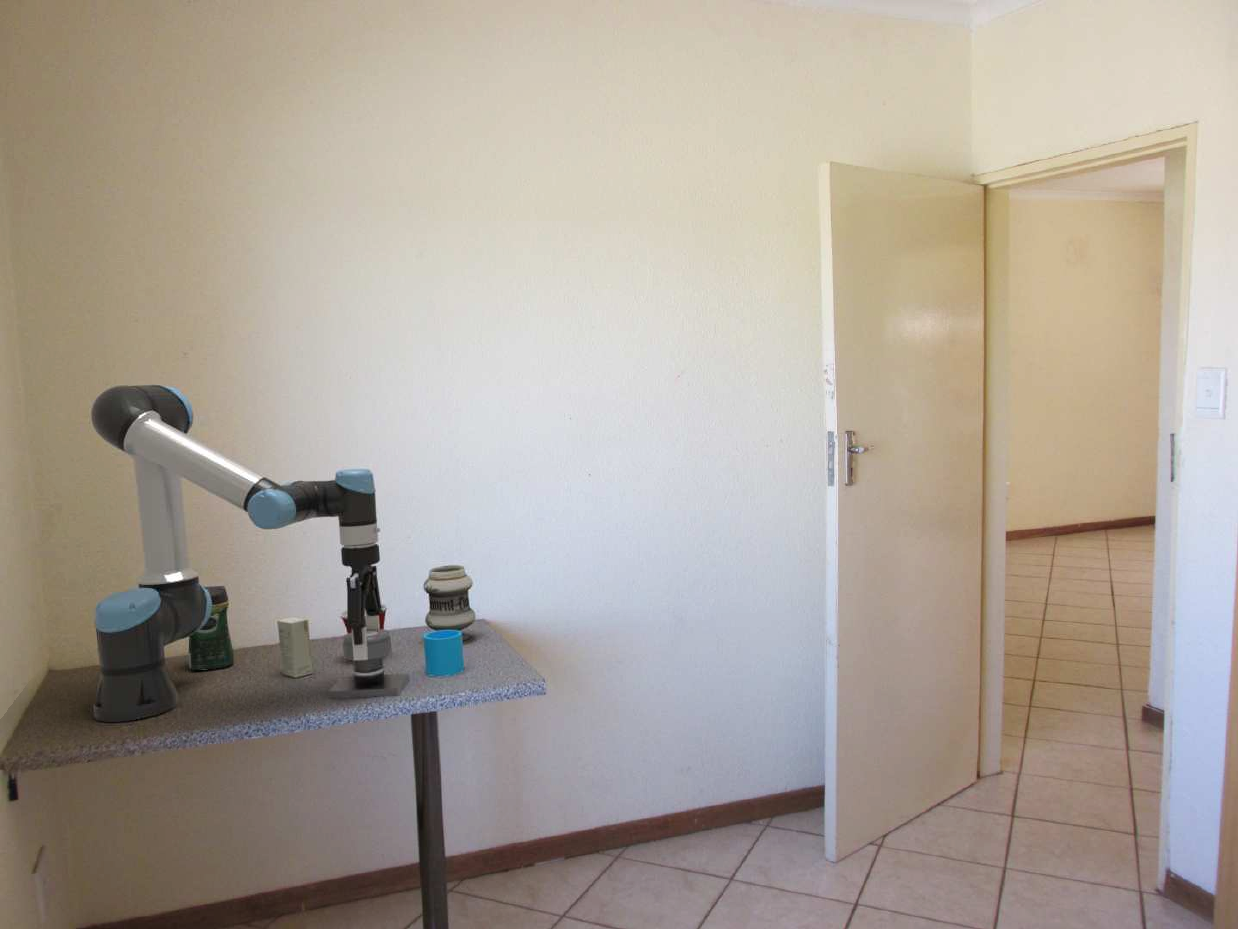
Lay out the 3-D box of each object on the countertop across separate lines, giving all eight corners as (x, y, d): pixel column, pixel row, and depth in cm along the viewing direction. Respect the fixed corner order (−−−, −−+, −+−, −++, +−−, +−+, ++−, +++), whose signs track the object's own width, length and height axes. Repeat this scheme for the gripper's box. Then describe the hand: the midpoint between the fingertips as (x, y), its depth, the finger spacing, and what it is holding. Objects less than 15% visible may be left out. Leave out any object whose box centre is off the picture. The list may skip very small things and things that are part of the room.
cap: (384, 659, 196) (382, 638, 195) (338, 661, 196) (337, 640, 196) (395, 646, 205) (394, 627, 205) (352, 648, 205) (350, 629, 205)
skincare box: (313, 673, 215) (309, 619, 214) (295, 678, 212) (291, 623, 211) (299, 669, 219) (294, 615, 218) (280, 674, 216) (276, 619, 215)
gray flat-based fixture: (328, 698, 196) (324, 647, 195) (343, 683, 206) (339, 634, 205) (397, 695, 196) (394, 644, 195) (409, 680, 206) (406, 632, 205)
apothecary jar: (418, 647, 233) (413, 573, 232) (438, 634, 245) (434, 563, 244) (465, 648, 231) (461, 572, 229) (484, 634, 242) (479, 563, 241)
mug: (464, 674, 209) (462, 637, 208) (426, 678, 207) (423, 641, 207) (462, 660, 220) (460, 624, 220) (426, 663, 219) (423, 627, 218)
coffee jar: (235, 659, 230) (229, 582, 229) (233, 668, 223) (226, 588, 221) (190, 665, 227) (184, 586, 226) (187, 674, 220) (180, 592, 218)
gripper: (363, 553, 188) (371, 667, 189) (391, 535, 210) (398, 638, 211) (324, 555, 188) (333, 669, 190) (356, 537, 210) (364, 640, 212)
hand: (367, 653), depth 200 cm, fingers closed on cap, 9 cm apart
